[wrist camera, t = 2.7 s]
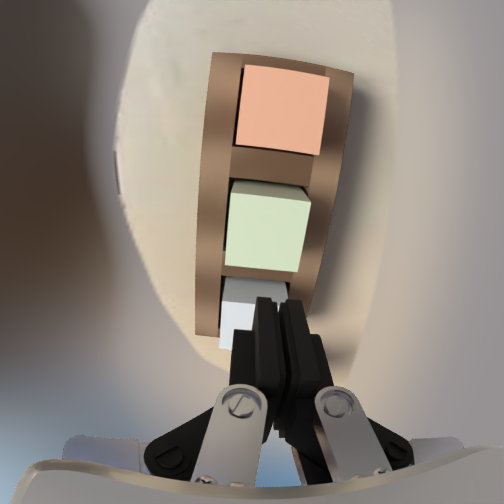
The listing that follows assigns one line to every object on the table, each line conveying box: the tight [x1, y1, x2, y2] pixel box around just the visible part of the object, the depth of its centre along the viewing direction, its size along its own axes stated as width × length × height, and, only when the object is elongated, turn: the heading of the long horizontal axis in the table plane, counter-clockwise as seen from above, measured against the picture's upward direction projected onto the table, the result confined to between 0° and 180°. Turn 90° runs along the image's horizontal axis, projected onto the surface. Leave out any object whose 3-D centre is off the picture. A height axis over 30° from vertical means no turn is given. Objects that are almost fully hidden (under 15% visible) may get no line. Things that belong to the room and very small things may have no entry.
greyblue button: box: [219, 276, 288, 350], centre depth 24 cm, size 5×5×4 cm
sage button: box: [225, 179, 311, 272], centre depth 20 cm, size 5×5×4 cm
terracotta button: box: [236, 65, 330, 155], centre depth 17 cm, size 5×5×4 cm
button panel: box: [195, 52, 354, 338], centre depth 23 cm, size 24×10×4 cm, turn 174°
